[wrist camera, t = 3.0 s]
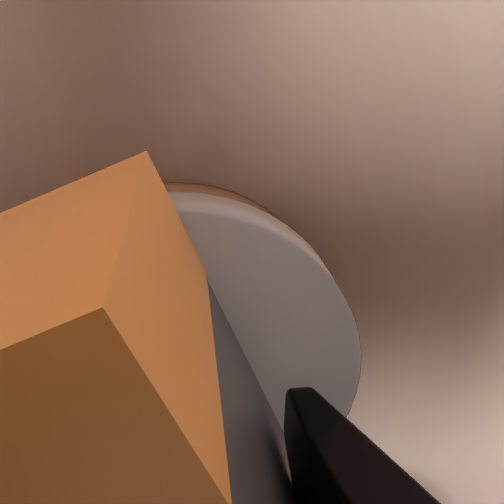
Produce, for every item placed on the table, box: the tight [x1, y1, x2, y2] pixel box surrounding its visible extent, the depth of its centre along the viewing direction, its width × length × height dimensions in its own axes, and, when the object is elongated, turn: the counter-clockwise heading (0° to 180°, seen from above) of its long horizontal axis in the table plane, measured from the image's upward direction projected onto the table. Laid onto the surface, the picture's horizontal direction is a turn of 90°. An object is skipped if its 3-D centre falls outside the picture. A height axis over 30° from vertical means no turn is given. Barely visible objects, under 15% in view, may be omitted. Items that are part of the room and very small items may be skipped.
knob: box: [0, 150, 361, 504], centre depth 7 cm, size 8×6×5 cm
